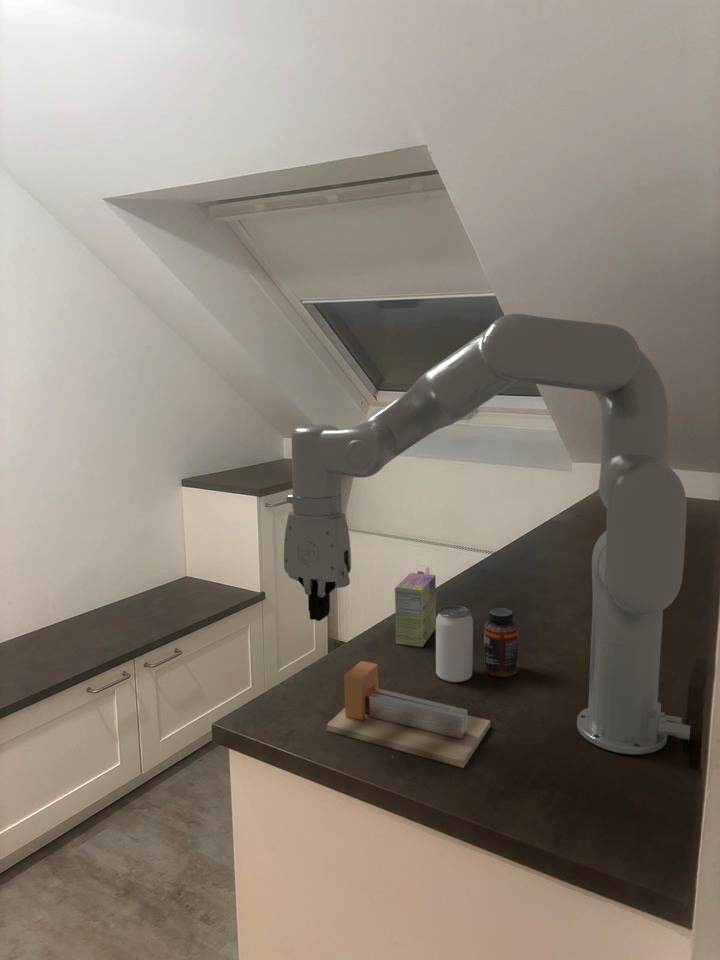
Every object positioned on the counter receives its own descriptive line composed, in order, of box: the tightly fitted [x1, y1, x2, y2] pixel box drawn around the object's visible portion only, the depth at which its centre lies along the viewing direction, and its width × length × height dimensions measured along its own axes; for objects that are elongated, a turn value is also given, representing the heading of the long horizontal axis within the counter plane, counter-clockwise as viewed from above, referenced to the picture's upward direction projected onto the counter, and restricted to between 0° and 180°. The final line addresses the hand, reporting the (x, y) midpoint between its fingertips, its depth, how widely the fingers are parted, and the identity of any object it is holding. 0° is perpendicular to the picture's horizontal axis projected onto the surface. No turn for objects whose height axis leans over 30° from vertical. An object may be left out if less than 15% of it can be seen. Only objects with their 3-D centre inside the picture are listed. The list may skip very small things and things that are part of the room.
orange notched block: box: [343, 660, 379, 720], centre depth 108 cm, size 3×6×7 cm, turn 152°
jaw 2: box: [374, 687, 468, 735], centre depth 104 cm, size 15×1×3 cm, turn 61°
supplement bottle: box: [483, 607, 519, 678], centre depth 122 cm, size 6×6×11 cm
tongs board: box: [326, 696, 491, 769], centre depth 105 cm, size 22×12×4 cm, turn 62°
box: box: [394, 572, 437, 648], centre depth 139 cm, size 10×6×12 cm, turn 159°
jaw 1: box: [369, 692, 464, 739], centre depth 103 cm, size 15×1×3 cm, turn 62°
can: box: [435, 605, 474, 683], centre depth 121 cm, size 6×6×12 cm
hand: (319, 617), depth 109 cm, fingers closed
